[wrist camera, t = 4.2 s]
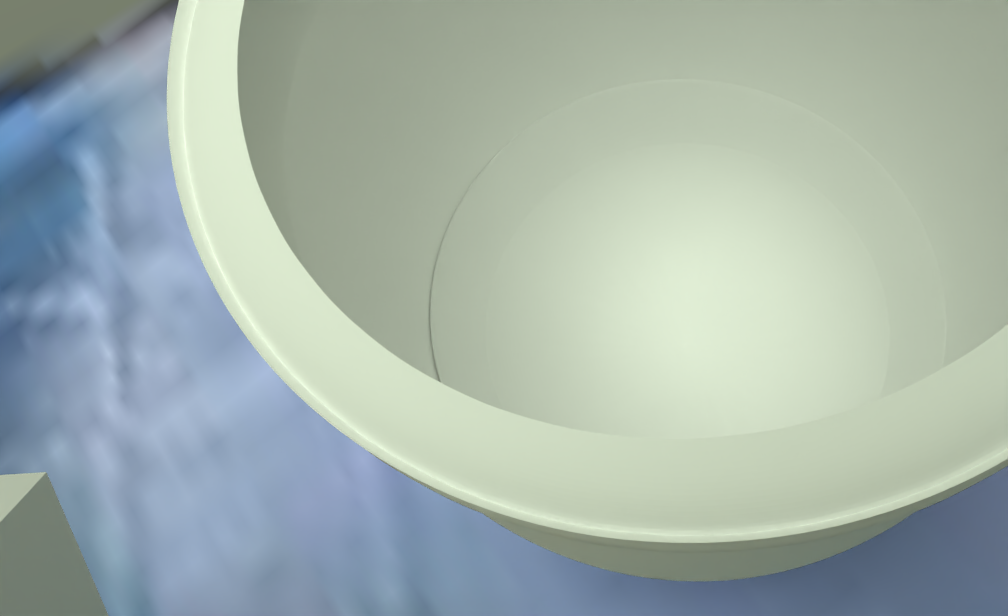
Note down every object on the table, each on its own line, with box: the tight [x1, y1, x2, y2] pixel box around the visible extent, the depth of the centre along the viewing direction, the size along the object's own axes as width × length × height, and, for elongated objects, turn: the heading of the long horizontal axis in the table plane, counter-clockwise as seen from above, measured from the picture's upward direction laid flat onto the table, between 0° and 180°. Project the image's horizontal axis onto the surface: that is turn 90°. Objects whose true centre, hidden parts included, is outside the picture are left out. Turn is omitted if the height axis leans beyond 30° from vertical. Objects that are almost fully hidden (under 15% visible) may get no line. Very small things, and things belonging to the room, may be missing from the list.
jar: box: [167, 0, 1008, 581], centre depth 16 cm, size 11×10×15 cm
